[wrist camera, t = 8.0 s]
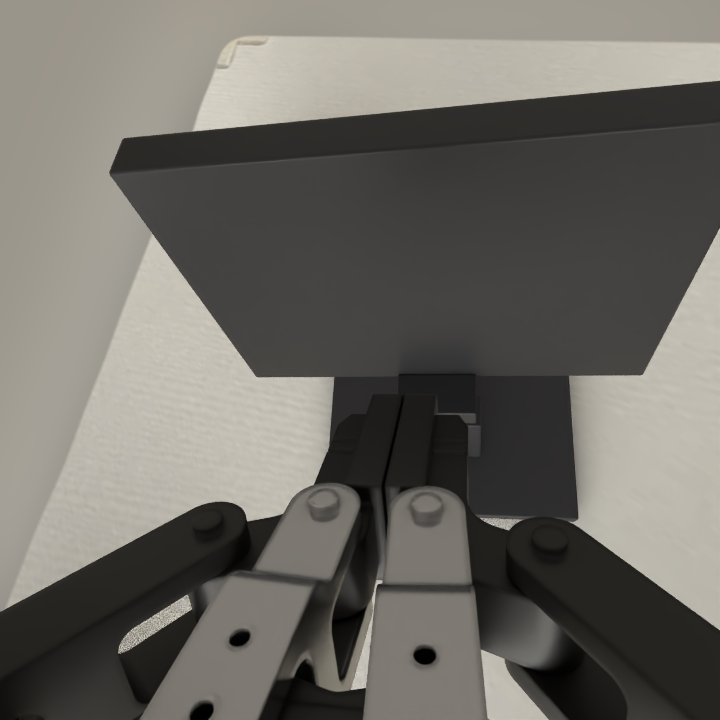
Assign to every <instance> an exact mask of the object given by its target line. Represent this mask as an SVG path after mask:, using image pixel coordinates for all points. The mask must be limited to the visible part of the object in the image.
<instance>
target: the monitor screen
mask: <svg viewBox="0 0 720 720" xmlns="http://www.w3.org/2000/svg"><path fill="white" fill-rule="evenodd" d="M109 173H110V176H111V177H112V178H113V180H114V181H115V182H116V183H117V185H118V186H119V188H120V189H121V191H122V192H123V193H124V195H125V196H126V197H127V199H128V200H129V202H130V203H131V205H132V206H133V207H134V208H135V210H136V211H137V213H138V214H139V215H140V217H141V218H142V220H143V221H144V222H145V224H146V225H147V227H148V228H149V229H150V231H151V232H152V234H153V235H154V236H155V238H156V239H157V240H158V242H159V243H160V245H161V246H162V247H163V249H164V250H165V251H166V253H167V254H168V256H169V257H170V258H171V260H172V261H173V262H174V264H175V265H176V267H177V268H178V269H179V271H180V272H181V273H182V275H183V276H184V278H185V279H186V280H187V282H188V283H189V285H190V286H191V287H192V289H193V290H194V291H195V293H196V294H197V296H198V297H199V298H200V300H201V301H202V302H203V304H204V305H205V307H206V308H207V309H208V311H209V312H210V313H211V315H212V316H213V318H214V319H215V320H216V322H217V323H218V325H219V326H220V327H221V329H222V330H223V331H224V333H225V334H226V336H227V337H228V338H229V340H230V341H231V342H232V344H233V345H234V347H235V348H236V349H237V351H238V352H239V353H240V355H241V356H242V358H243V359H244V360H245V362H246V363H247V364H248V366H249V367H250V369H251V370H252V371H253V373H254V374H255V376H256V377H395V376H398V387H397V394H404V396H405V395H406V394H437V400H438V415H459V416H460V417H461V418H462V420H463V421H464V422H465V423H476V376H592V375H643V373H644V371H645V369H646V367H647V365H648V363H649V362H650V360H651V358H652V356H653V354H654V352H655V350H656V348H657V346H658V344H659V343H660V341H661V339H662V337H663V335H664V333H665V331H666V329H667V327H668V325H669V323H670V322H671V320H672V318H673V316H674V314H675V312H676V310H677V308H678V306H679V304H680V303H681V301H682V299H683V297H684V295H685V293H686V291H687V289H688V287H689V285H690V284H691V282H692V280H693V278H694V276H695V274H696V272H697V270H698V268H699V266H700V265H701V263H702V261H703V259H704V257H705V255H706V253H707V251H708V249H709V247H710V245H711V244H712V242H713V240H714V238H715V236H716V234H717V232H718V230H719V228H720V81H713V82H703V83H692V84H682V85H671V86H661V87H651V88H640V89H630V90H620V91H609V92H599V93H588V94H578V95H568V96H557V97H547V98H536V99H526V100H516V101H505V102H495V103H485V104H474V105H464V106H453V107H443V108H433V109H422V110H412V111H402V112H391V113H381V114H370V115H360V116H350V117H339V118H329V119H318V120H308V121H298V122H287V123H277V124H267V125H256V126H246V127H235V128H225V129H215V130H204V131H194V132H183V133H174V134H163V135H153V136H142V137H133V138H124V139H123V140H122V142H121V144H120V147H119V149H118V152H117V154H116V157H115V159H114V162H113V164H112V167H111V169H110V172H109Z"/></svg>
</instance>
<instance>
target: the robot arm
mask: <svg viewBox="0 0 720 720" xmlns="http://www.w3.org/2000/svg"><path fill="white" fill-rule="evenodd" d="M376 580H383V583H382V584H378V585H377V589H376V596H375V605H374V615H373V625H372V635H371V645H370V655H369V665H368V675H367V685H366V688H363V689H356V690H351V686H352V683H353V679H354V676H355V672H356V669H357V665H358V662H359V658H360V655H361V652H362V648H363V645H364V641H365V638H366V634H367V631H368V627H369V624H370V620H371V617H372V612H373V606H372V596H373V592H374V587H375V582H376ZM187 594H188V596H189V600H190V603H191V606H192V610H190V611H189V612H187V613H186V614H184V615H183V616H181V617H179V618H178V619H176V620H175V621H173V622H172V623H170V624H169V625H167V626H166V627H164V628H162V629H161V630H159V631H158V632H156V633H155V634H153V635H152V636H150V637H149V638H147V639H145V640H144V641H142V642H141V643H139V644H138V645H136V646H135V647H133V648H132V649H130V650H128V651H126V652H124V653H121V654H118V649H119V645H120V643H121V641H122V639H123V638H124V636H125V635H126V634H127V633H128V632H129V631H130V630H131V629H133V628H134V627H136V626H137V625H139V624H141V623H142V622H144V621H145V620H147V619H149V618H150V617H152V616H153V615H155V614H157V613H158V612H160V611H161V610H163V609H164V608H166V607H168V606H169V605H171V604H172V603H174V602H176V601H177V600H179V599H180V598H182V597H184V596H185V595H187ZM481 649H482V650H484V651H487V652H489V653H492V654H494V655H497V656H499V657H502V658H504V659H505V664H506V667H507V669H508V671H509V673H510V675H511V676H512V677H513V679H514V680H515V681H516V682H517V683H518V685H519V686H520V687H521V688H522V689H523V690H524V691H525V693H526V694H527V695H528V696H529V697H530V698H531V699H532V701H533V702H534V703H535V704H536V705H537V706H538V708H539V709H540V710H541V711H542V712H543V713H544V714H545V716H546V717H547V718H548V719H549V720H720V630H718V629H717V628H716V627H714V626H713V625H712V624H710V623H709V622H707V621H706V620H705V619H703V618H702V617H701V616H699V615H698V614H696V613H695V612H694V611H692V610H691V609H690V608H688V607H687V606H686V605H684V604H683V603H681V602H680V601H679V600H677V599H676V598H675V597H673V596H672V595H670V594H669V593H668V592H666V591H665V590H664V589H662V588H661V587H660V586H658V585H657V584H655V583H654V582H653V581H651V580H650V579H649V578H647V577H646V576H644V575H643V574H642V573H640V572H639V571H638V570H636V569H635V568H634V567H632V566H631V565H629V564H628V563H627V562H625V561H624V560H623V559H621V558H620V557H619V556H617V555H616V554H614V553H613V552H612V551H610V550H609V549H608V548H606V547H605V546H603V545H602V544H601V543H599V542H598V541H597V540H595V539H594V538H593V537H591V536H590V535H588V534H587V533H586V532H584V531H583V530H582V529H580V528H579V527H577V526H575V525H574V524H572V523H570V522H567V521H564V520H562V519H557V518H553V517H532V518H528V519H525V520H522V521H520V522H518V523H516V524H515V525H514V526H513V527H512V528H511V529H510V530H509V531H508V530H505V529H501V528H498V527H495V526H492V525H490V524H488V523H486V522H484V521H483V520H481V519H479V518H478V517H477V516H476V515H475V514H474V513H473V512H472V511H471V509H470V508H469V450H468V426H467V425H466V424H465V422H464V421H463V420H462V418H461V417H460V416H459V415H438V400H437V394H406V395H405V396H404V394H373V395H372V398H371V401H370V404H369V407H368V410H367V413H366V414H351V415H349V416H348V417H347V418H346V419H345V420H344V421H342V422H341V423H340V424H339V425H338V426H337V429H336V431H335V434H334V436H333V441H331V444H330V446H329V449H328V452H327V454H326V456H325V459H324V461H323V464H322V466H321V469H320V471H319V474H318V476H317V479H316V481H315V483H314V485H313V486H310V487H308V488H305V489H303V490H302V491H300V492H299V493H297V494H296V495H295V496H294V497H293V498H292V500H291V501H290V503H289V505H288V506H287V508H286V510H285V512H284V514H282V515H279V516H274V517H270V518H264V519H259V520H254V521H248V522H247V519H246V515H245V512H244V510H243V509H242V508H241V507H239V506H238V505H236V504H233V503H229V502H212V503H207V504H204V505H201V506H198V507H196V508H194V509H192V510H190V511H188V512H186V513H184V514H182V515H180V516H178V517H177V518H175V519H173V520H171V521H169V522H167V523H165V524H164V525H162V526H160V527H158V528H156V529H154V530H152V531H151V532H149V533H147V534H145V535H143V536H141V537H139V538H137V539H136V540H134V541H132V542H130V543H128V544H126V545H124V546H123V547H121V548H119V549H117V550H115V551H113V552H111V553H110V554H108V555H106V556H104V557H102V558H100V559H98V560H96V561H95V562H93V563H91V564H89V565H87V566H85V567H83V568H82V569H80V570H78V571H76V572H74V573H72V574H70V575H69V576H67V577H65V578H63V579H61V580H59V581H57V582H55V583H54V584H52V585H50V586H48V587H46V588H44V589H42V590H41V591H39V592H37V593H35V594H33V595H31V596H29V597H28V598H26V599H24V600H22V601H20V602H18V603H16V604H14V605H13V606H11V607H9V608H7V609H5V610H3V611H2V612H0V720H489V719H487V710H486V699H485V689H484V679H483V668H482V658H481Z"/></svg>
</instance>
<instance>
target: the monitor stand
mask: <svg viewBox="0 0 720 720" xmlns="http://www.w3.org/2000/svg"><path fill="white" fill-rule="evenodd" d="M397 387H398V376H395V377H335V378H334V392H333V405H332V418H331V431H330V444H331V441H333V436H334V434H335V431H336V429H337V426H338V425H339V424H340V423H341V422H342V421H344V420H345V419H346V418H347V417H348V416H349V415H351V414H366V413H367V410H368V407H369V404H370V401H371V398H372V395H373V394H397ZM465 424H466V425H467V426H468V450H469V508H470V509H471V511H472V512H473V513H474V514H475V515H476V516H477V517H478V518H502V519H528V518H532V517H553V518H557V519H562V520H564V521H572V522H574V521H576V520H578V506H577V491H576V477H575V462H574V447H573V432H572V418H571V403H570V388H569V376H476V423H465ZM330 444H329V446H330Z"/></svg>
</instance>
